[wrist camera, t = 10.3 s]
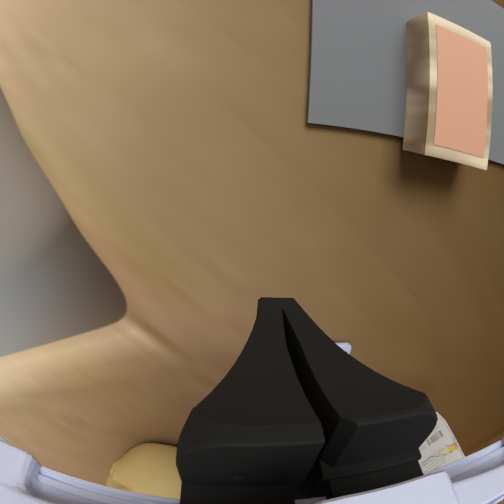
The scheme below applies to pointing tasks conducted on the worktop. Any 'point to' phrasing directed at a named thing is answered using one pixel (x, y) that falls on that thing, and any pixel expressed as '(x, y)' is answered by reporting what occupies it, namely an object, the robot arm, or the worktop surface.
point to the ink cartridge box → (439, 447)
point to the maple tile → (448, 92)
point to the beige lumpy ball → (147, 471)
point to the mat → (387, 61)
